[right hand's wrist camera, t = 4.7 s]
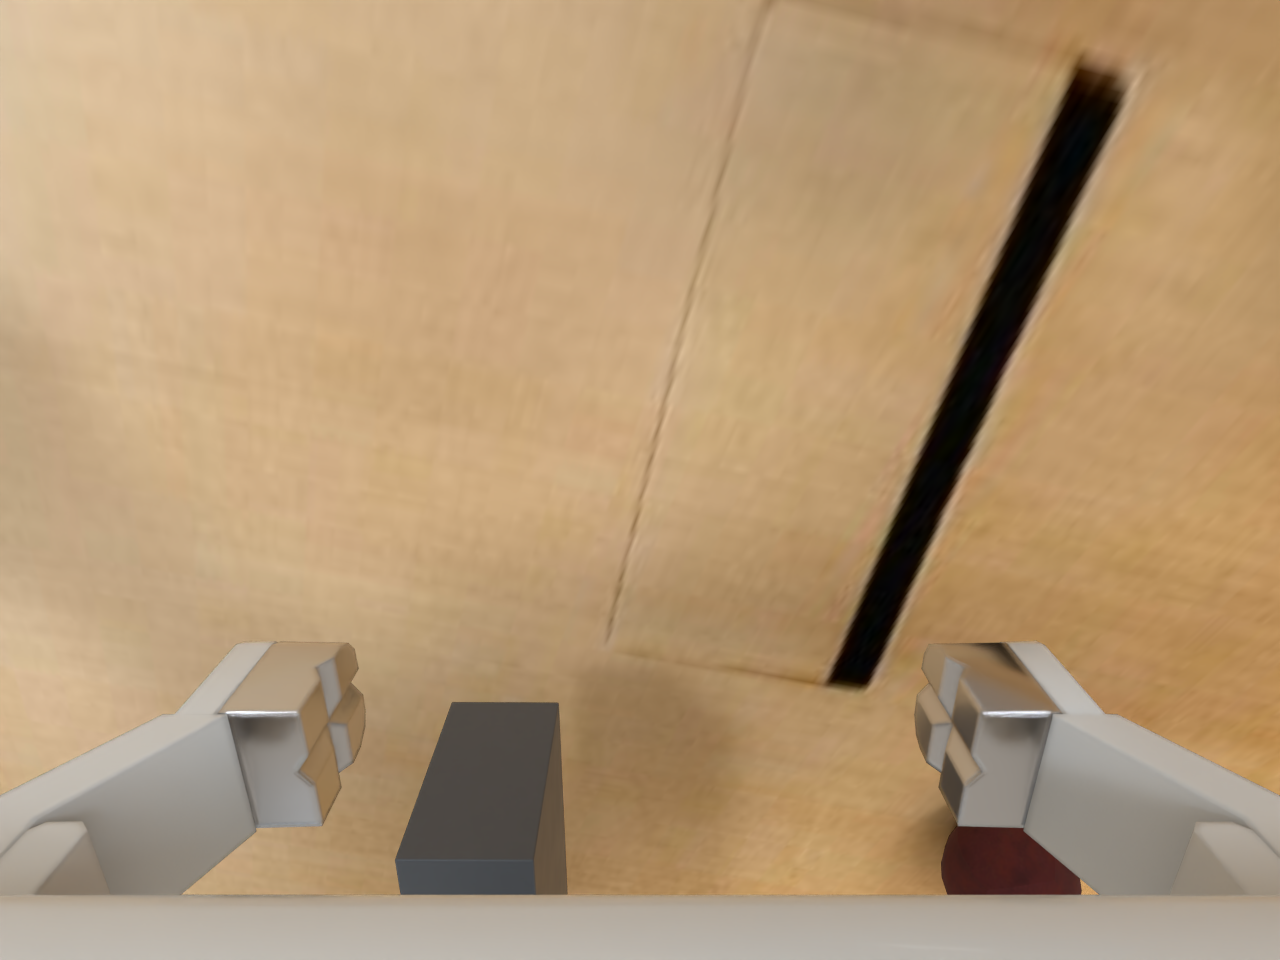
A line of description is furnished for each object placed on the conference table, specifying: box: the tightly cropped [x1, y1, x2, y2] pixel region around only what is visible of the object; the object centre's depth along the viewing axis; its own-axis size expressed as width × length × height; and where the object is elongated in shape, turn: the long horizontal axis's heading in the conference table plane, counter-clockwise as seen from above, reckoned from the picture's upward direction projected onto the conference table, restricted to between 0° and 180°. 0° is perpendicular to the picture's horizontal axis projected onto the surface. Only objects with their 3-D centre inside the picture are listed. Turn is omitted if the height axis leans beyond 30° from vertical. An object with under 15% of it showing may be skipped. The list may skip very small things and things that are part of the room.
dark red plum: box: [941, 825, 1082, 895], centre depth 43 cm, size 7×8×7 cm
